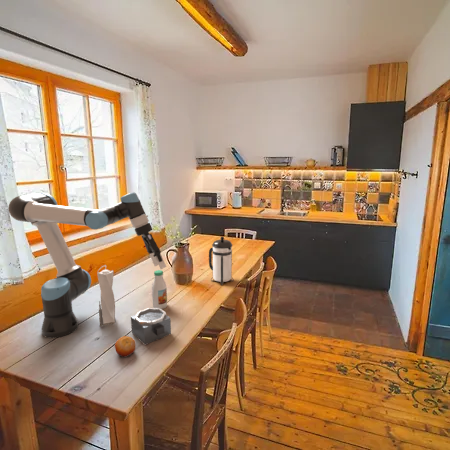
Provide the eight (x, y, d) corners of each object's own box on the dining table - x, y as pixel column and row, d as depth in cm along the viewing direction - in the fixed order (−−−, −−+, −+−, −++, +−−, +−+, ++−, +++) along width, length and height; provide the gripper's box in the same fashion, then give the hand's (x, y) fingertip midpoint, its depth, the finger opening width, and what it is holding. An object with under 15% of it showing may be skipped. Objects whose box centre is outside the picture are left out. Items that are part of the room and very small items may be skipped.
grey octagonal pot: (147, 347, 133) (146, 327, 131) (131, 332, 144) (130, 314, 143) (173, 336, 142) (173, 317, 140) (156, 322, 153) (156, 305, 151)
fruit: (125, 341, 135) (130, 329, 131) (135, 355, 132) (140, 344, 128) (108, 349, 129) (112, 338, 125) (118, 365, 126) (123, 354, 122)
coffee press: (234, 276, 213) (234, 233, 206) (232, 286, 197) (233, 239, 191) (209, 275, 214) (208, 233, 208) (205, 284, 199) (205, 239, 192)
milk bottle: (153, 310, 165) (151, 274, 161) (152, 303, 173) (150, 269, 168) (167, 308, 167) (166, 273, 163) (166, 302, 175) (165, 268, 170)
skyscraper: (99, 318, 157) (95, 265, 151) (116, 315, 160) (113, 263, 154) (99, 326, 150) (94, 271, 144) (117, 323, 152) (113, 269, 147)
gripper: (154, 221, 135) (174, 265, 138) (144, 222, 158) (161, 260, 161) (138, 228, 132) (158, 273, 135) (130, 228, 155) (148, 267, 158)
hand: (160, 266), depth 148 cm, fingers open, 13 cm apart
